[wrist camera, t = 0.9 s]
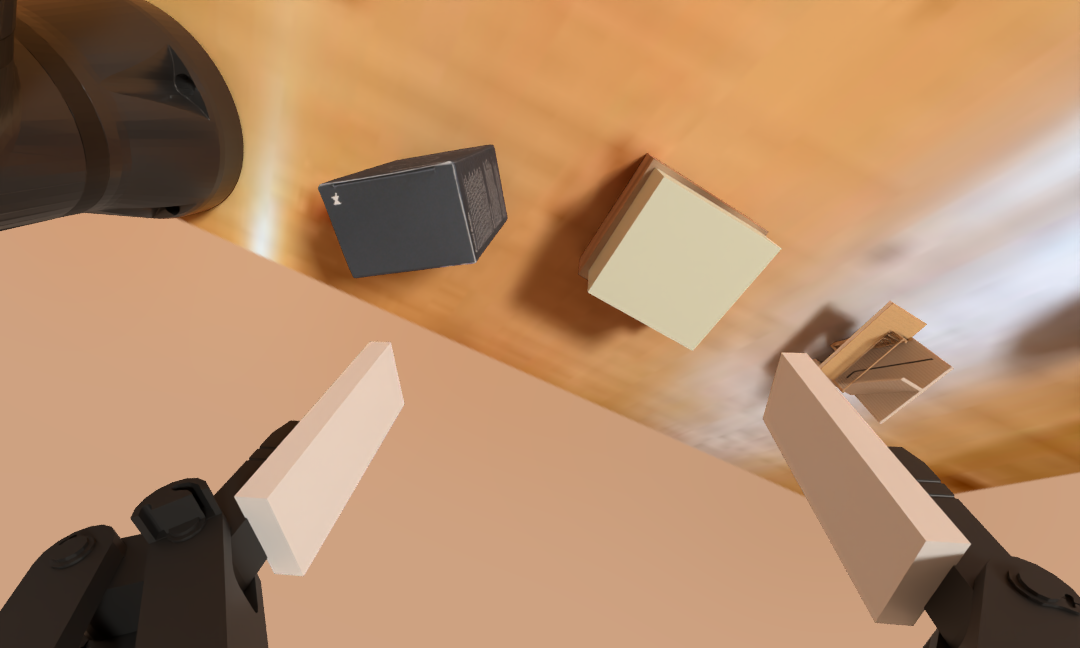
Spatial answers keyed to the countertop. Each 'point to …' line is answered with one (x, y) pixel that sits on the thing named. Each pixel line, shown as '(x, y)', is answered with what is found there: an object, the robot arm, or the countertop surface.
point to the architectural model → (884, 363)
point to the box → (417, 211)
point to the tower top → (678, 261)
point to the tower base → (628, 198)
